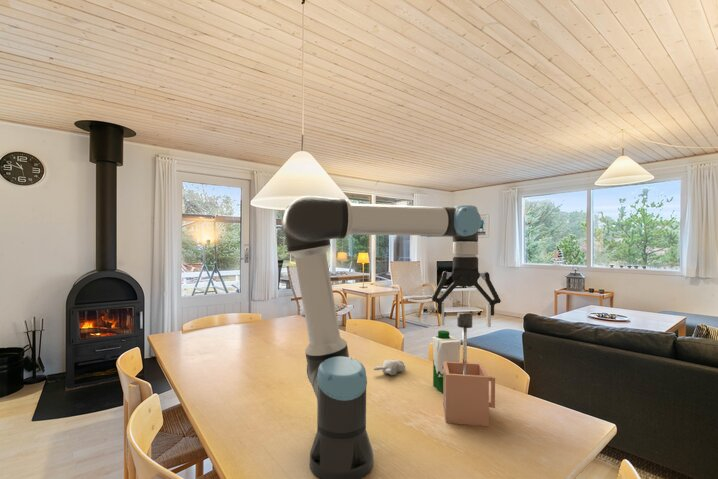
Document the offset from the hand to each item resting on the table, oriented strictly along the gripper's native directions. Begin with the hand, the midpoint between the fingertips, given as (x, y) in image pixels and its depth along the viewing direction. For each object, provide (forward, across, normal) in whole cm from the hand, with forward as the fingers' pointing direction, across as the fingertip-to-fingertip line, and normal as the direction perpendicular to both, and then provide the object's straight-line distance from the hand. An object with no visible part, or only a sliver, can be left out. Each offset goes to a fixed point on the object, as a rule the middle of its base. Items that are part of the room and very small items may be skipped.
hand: (465, 325), depth 110 cm
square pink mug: (+27, -1, 0) cm, 27 cm away
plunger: (+18, 0, 0) cm, 18 cm away
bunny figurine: (+28, +25, -31) cm, 48 cm away
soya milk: (+28, +4, -19) cm, 34 cm away
